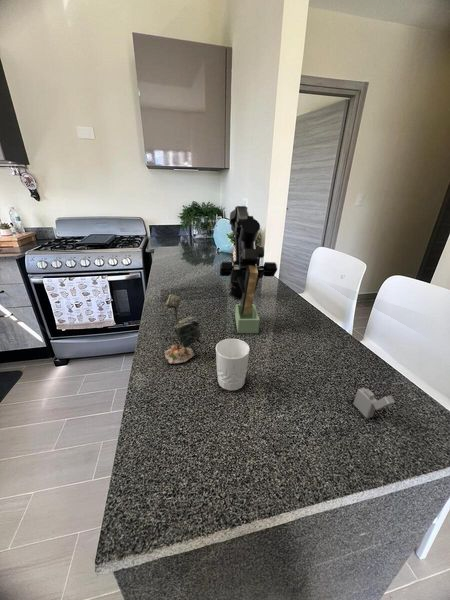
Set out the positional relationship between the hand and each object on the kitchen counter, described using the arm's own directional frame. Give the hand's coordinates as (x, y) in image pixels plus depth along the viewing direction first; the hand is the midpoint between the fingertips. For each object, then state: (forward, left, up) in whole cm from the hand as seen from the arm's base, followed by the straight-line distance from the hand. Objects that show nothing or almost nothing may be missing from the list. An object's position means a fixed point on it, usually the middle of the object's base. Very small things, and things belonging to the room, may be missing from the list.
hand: (248, 292), depth 81 cm
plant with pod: (+25, +2, -13) cm, 28 cm away
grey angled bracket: (+2, +43, -13) cm, 45 cm away
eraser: (0, -2, -7) cm, 7 cm away
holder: (-1, -1, -13) cm, 13 cm away
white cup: (+20, +18, -13) cm, 30 cm away
